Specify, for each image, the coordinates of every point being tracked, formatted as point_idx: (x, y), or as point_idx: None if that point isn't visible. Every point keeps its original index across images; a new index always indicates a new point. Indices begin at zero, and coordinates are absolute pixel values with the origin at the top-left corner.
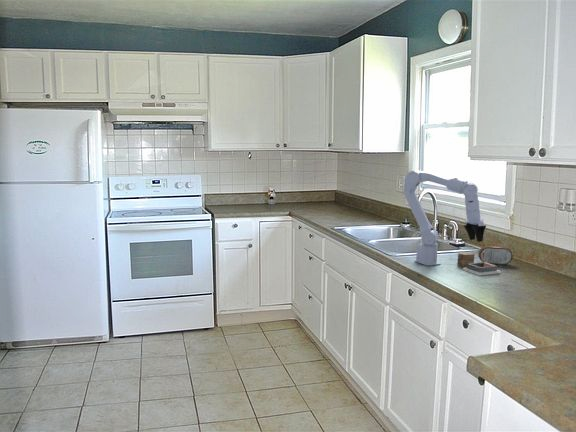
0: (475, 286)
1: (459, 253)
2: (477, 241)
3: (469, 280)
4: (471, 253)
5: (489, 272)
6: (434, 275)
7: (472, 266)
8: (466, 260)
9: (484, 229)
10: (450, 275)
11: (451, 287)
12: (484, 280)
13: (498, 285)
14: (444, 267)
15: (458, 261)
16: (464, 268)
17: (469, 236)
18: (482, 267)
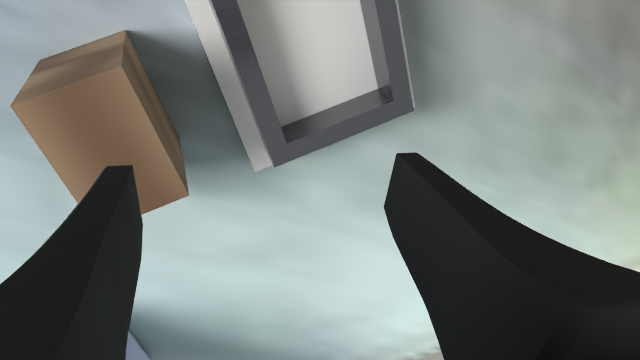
0: (574, 201)
1: None
2: (387, 210)
3: (485, 198)
4: (86, 90)
5: (398, 11)
6: (366, 338)
7: (335, 138)
8: (169, 140)
9: (590, 264)
10: (377, 268)
11: None
12: (508, 115)
13: (606, 76)
14: (177, 268)
15: None
16: (268, 165)
17: (135, 278)
18: (404, 84)
